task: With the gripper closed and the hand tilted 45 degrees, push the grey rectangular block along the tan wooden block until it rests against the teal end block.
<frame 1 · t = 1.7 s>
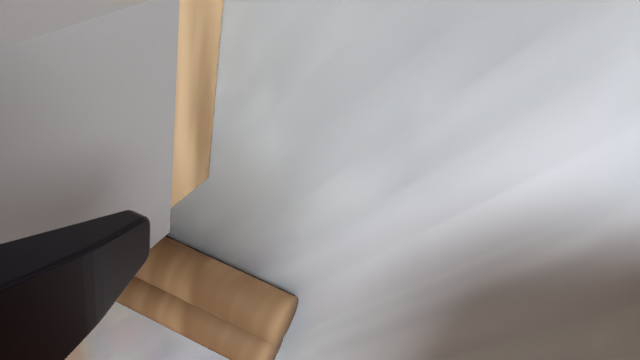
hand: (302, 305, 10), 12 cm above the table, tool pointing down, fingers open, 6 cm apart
roller a: (217, 267, 29), on the table
tan wooden block: (144, 39, 24), on the table
roller b: (208, 299, 30), on the table
grey rectangular block: (112, 101, 19), point 5 cm above the table, touching tan wooden block
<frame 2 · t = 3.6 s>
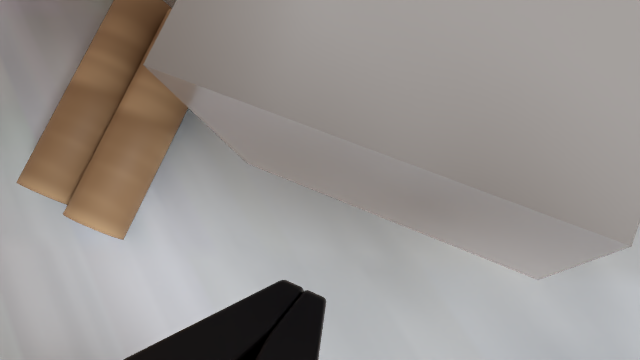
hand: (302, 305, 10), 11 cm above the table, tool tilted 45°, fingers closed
roller a: (158, 132, 24), on the table
roller b: (114, 106, 25), on the table
grey rectangular block: (415, 140, 17), point 5 cm above the table, touching tan wooden block
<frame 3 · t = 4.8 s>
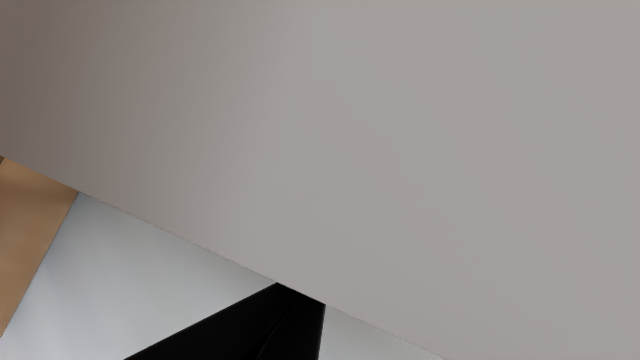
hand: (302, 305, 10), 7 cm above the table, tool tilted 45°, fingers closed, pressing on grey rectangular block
roller a: (56, 198, 19), on the table
grey rectangular block: (372, 194, 13), point 5 cm above the table, touching gripper
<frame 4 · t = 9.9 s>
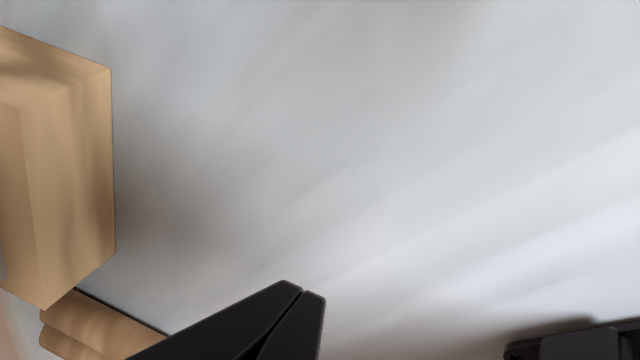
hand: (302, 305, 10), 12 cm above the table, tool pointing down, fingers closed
roller a: (130, 322, 34), on the table
tan wooden block: (55, 145, 29), on the table
roller b: (126, 347, 36), on the table
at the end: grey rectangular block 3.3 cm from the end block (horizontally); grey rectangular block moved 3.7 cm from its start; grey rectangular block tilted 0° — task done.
